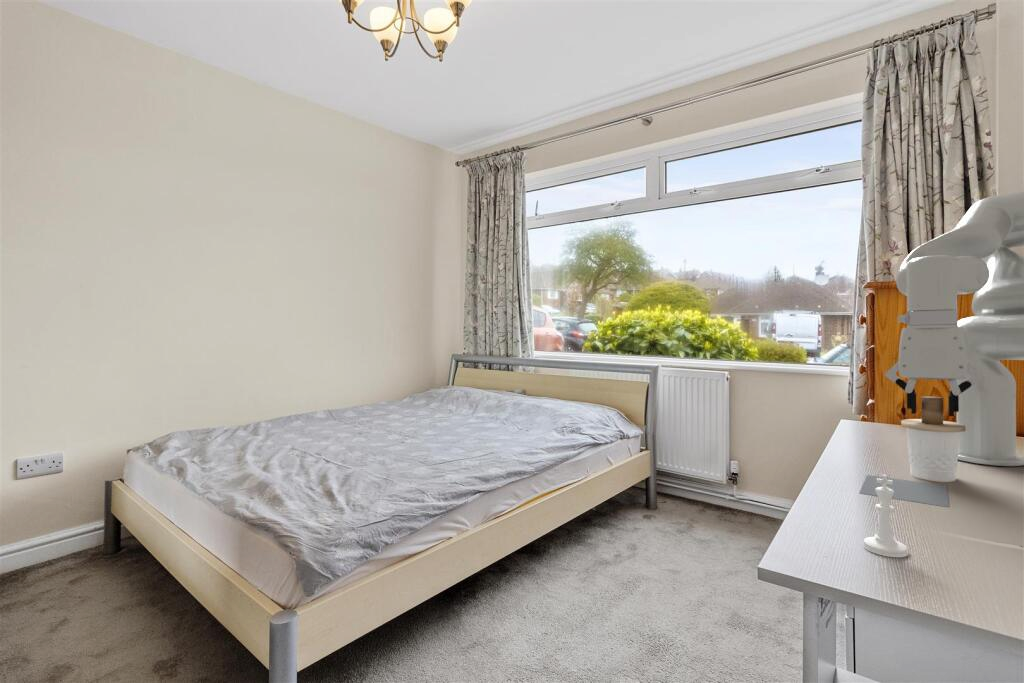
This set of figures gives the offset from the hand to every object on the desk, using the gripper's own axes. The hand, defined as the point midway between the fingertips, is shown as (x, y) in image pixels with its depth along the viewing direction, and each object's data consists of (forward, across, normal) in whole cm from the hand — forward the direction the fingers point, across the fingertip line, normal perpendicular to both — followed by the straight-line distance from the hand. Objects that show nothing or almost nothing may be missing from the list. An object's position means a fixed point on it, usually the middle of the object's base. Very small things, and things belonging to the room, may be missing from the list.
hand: (932, 413), depth 98 cm
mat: (+13, -4, -13) cm, 19 cm away
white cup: (+13, 0, 0) cm, 13 cm away
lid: (+3, 0, 0) cm, 3 cm away
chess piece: (+13, -5, -44) cm, 46 cm away
